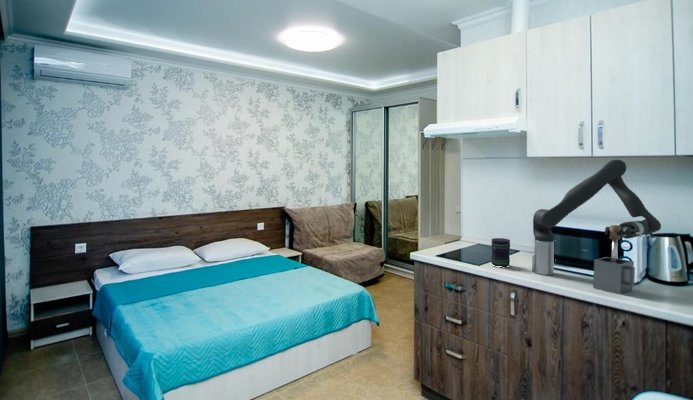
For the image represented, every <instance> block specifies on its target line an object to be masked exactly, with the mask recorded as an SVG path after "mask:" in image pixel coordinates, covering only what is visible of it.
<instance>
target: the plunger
mask: <svg viewBox="0 0 693 400" xmlns="http://www.w3.org/2000/svg"><path fill="white" fill-rule="evenodd" d="M609 227H610V234H609V240H612V243H611V258H612V259H611V263H616V259H617V256H618V255H617V253H618V252H617V251H618V241H621V236H617V231H620V230H621V226H619V224H618V225H617V224H616V225H615V224H612V225H611V224H610V225H609Z"/></svg>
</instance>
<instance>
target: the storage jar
mask: <svg viewBox="0 0 693 400" xmlns="http://www.w3.org/2000/svg"><path fill="white" fill-rule="evenodd" d="M490 246H491V256H490V264H491V263H492V264H493V265H495V266H502V267H507V266H509V267H510V264H511V263H510V259H511V258H510V250H511V239H509V238H504V237H503V238H500V237H499V238H498V237H495V238H491V245H490Z"/></svg>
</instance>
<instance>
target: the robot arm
mask: <svg viewBox="0 0 693 400" xmlns="http://www.w3.org/2000/svg"><path fill="white" fill-rule="evenodd" d="M626 172H627V164H626V162H625V161H623V160H621V159H613V160H612V159H611V160H609V161H608V162H606V164H604V165H603V167H602V168H600V169H599V170H598V171H597V172H595V173H594V174H593V175H591V176H589V177H587V178H586V179H583V181H581V182H579V183H578V184H576V185H575V186H574V187H572V188H570V190H568V191H567V192H566V193H565V195H564V197H563V198H562V200H560V202H559V203H558V204H557V205H556V204H555V206H553V207H552V208H550V209H544V208H541V209H538V210H536V211H535V212H534V214H533V218H532V229H533V230H532V232H533V236H534V246H533V247H534V249H533V251H534V253H532V260H531V261H532V262H531V266H532V267H531V268H532V269H531V272H532V273H534V272H535V274H537V275H543V276H549V275H550V276H552V275H554V271H555V269H554V268H555V264H554V241H556V240H555V239H556V237H555V235H554V233H553V232H552V228H554V227H555V226H557V225H558V224H559V223H560V222H561V221H563V220H564V219H565V218H566V217H567V216H568V215H569V214H570V213H572V212H573V211H575V210H577V209H578V208H580V206H582V205H584V204H585V203H586V202H588V201H590V200H591V199H592V198H593V197H595V195H596V194H598V193H599V191H601V190H602V189H603V188H604V187H606V185H607V184H608V185H609V187H611V188H612V190H613V191H614V193H615V194H616V195H617V196H618V197H619V199H620V201H621V202H622V204H623V206H624V208H625V209H626V210H627V212H628V213H629V215H630V217H632V218H639V217H642V218H644V219H642V220H634V221H633V220H631V221H626V222H625V221H623V222H621V223H619V224H618V226H621V230H620V231H617V236H620V238H623V239H628V240H629V239H633V238H638V237H642V236H641V235H644V234H645V236H648V235H650V234H653V233H656V232H659V231H661V229H662V224H661V222H660V220H659V219H657V218H656V217H655V216H654V215H653V214H652V213H651V212H650V211H649V210H648V209H647V208H646V207H645V205H644V203H643V201H642V200H641V199H640V197H639V196H638V195H637V193H635V192H634V191H632V189H630V188H629V187H628V186H627V185H626V182H625V181H624V179H623V176H624V175H625V173H626ZM604 228H605V229H604V235H606V236H610V226H606V227H604Z"/></svg>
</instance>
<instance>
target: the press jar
mask: <svg viewBox="0 0 693 400" xmlns="http://www.w3.org/2000/svg"><path fill="white" fill-rule="evenodd" d="M611 259H612V257H611V256H610V257H609V256H605V257H602V258H597V259H594V260H593V261H594V262H593V264H594V265H593V281H592V282H593V285H592V288H593V289H596V290H600V291H604V292H609V293H613V294H616V295H623V294H626V293H628V292H631V291H633V287H634V286H635V278H636V277H635V274H636V273H635V271H636V267H634V266H635V265H634V263H635V262H634V261H632V260H626V259H621V258H616V263H611Z"/></svg>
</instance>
